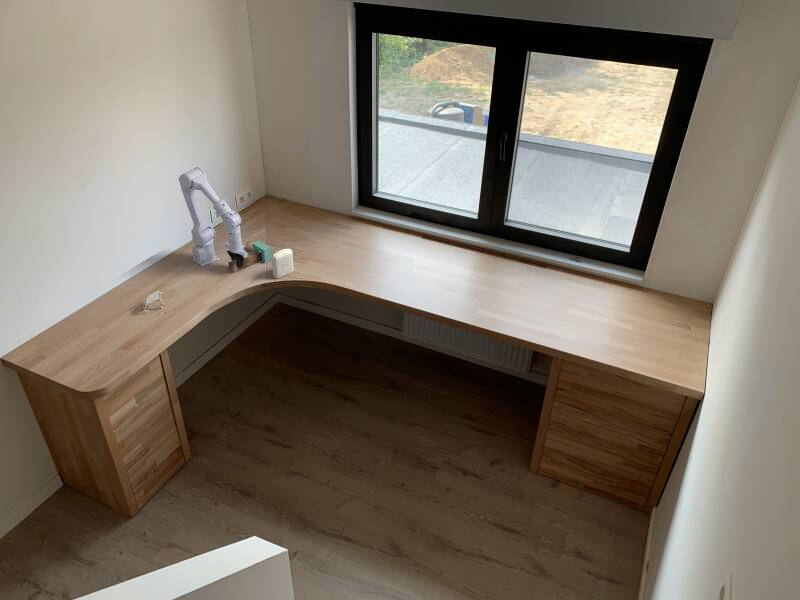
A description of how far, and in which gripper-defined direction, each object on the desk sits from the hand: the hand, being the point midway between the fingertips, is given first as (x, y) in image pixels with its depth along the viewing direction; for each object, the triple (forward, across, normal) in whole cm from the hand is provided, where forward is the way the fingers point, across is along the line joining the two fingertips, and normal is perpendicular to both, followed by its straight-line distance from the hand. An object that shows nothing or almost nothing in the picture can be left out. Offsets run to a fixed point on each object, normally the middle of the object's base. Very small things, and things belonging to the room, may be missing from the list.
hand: (238, 265), depth 285 cm
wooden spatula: (+2, 0, -5) cm, 5 cm away
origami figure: (+2, -1, +42) cm, 42 cm away
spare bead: (+2, +10, -15) cm, 18 cm away
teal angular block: (+2, 0, -14) cm, 14 cm away
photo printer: (+2, -18, -12) cm, 22 cm away
